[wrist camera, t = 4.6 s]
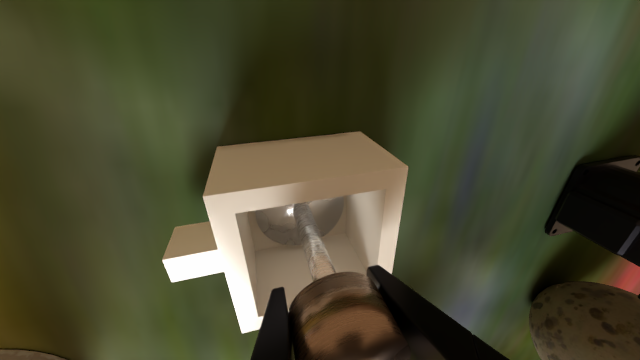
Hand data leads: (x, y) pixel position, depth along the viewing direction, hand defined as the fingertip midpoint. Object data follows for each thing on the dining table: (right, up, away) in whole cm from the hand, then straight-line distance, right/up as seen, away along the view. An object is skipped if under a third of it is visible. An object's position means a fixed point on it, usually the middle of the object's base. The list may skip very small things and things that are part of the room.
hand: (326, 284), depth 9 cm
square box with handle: (-3, +2, +5) cm, 6 cm away
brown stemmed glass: (-1, +2, +5) cm, 5 cm away
